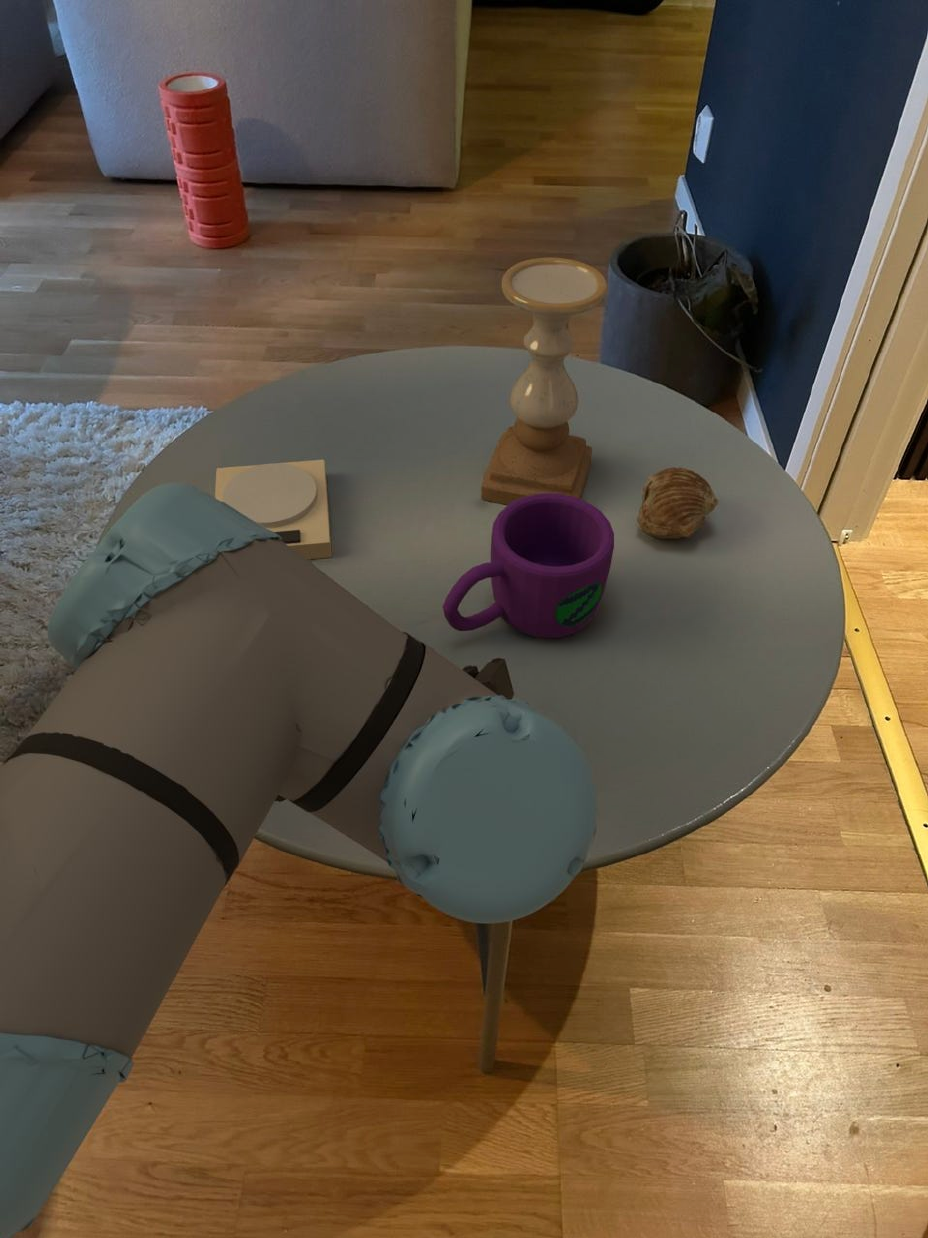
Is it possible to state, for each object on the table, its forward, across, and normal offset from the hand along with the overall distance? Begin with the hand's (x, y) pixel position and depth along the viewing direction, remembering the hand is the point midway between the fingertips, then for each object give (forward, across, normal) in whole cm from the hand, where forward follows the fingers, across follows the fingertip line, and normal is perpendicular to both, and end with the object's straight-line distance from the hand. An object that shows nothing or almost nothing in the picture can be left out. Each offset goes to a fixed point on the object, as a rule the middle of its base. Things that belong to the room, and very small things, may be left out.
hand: (344, 710), depth 65 cm
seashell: (+25, +42, +5) cm, 49 cm away
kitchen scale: (+36, +2, +17) cm, 41 cm away
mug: (+20, +22, +1) cm, 30 cm away
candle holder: (+34, +32, +14) cm, 49 cm away
